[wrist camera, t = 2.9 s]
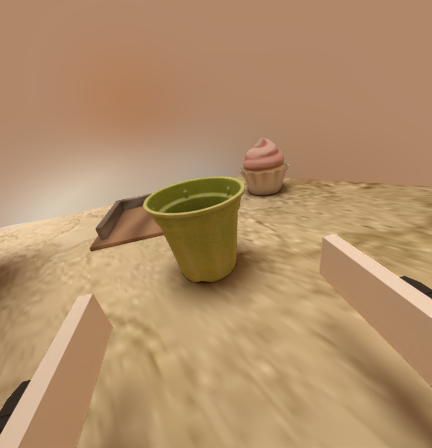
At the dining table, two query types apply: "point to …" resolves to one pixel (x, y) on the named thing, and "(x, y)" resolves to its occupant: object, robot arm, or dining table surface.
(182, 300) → the dining table surface
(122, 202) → the keeper bracket
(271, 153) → the cupcake
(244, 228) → the dining table surface
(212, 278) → the plant pot
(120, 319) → the dining table surface
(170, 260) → the dining table surface
